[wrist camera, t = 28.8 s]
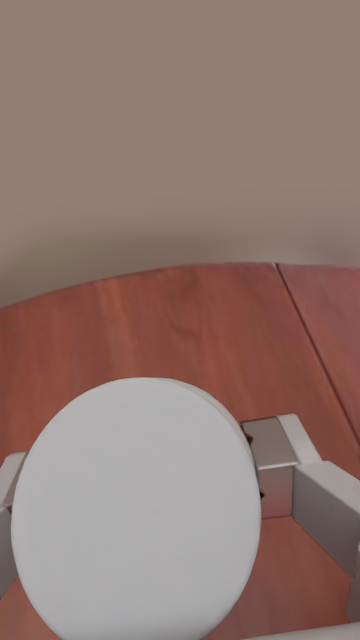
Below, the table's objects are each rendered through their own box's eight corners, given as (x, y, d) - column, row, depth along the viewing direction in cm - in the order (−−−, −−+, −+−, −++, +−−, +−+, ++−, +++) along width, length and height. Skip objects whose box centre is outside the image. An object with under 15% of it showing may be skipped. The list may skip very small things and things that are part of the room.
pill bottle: (254, 450, 13) (349, 479, 5) (179, 559, 12) (152, 813, 4) (163, 376, 14) (124, 304, 6) (87, 469, 13) (-80, 528, 5)
